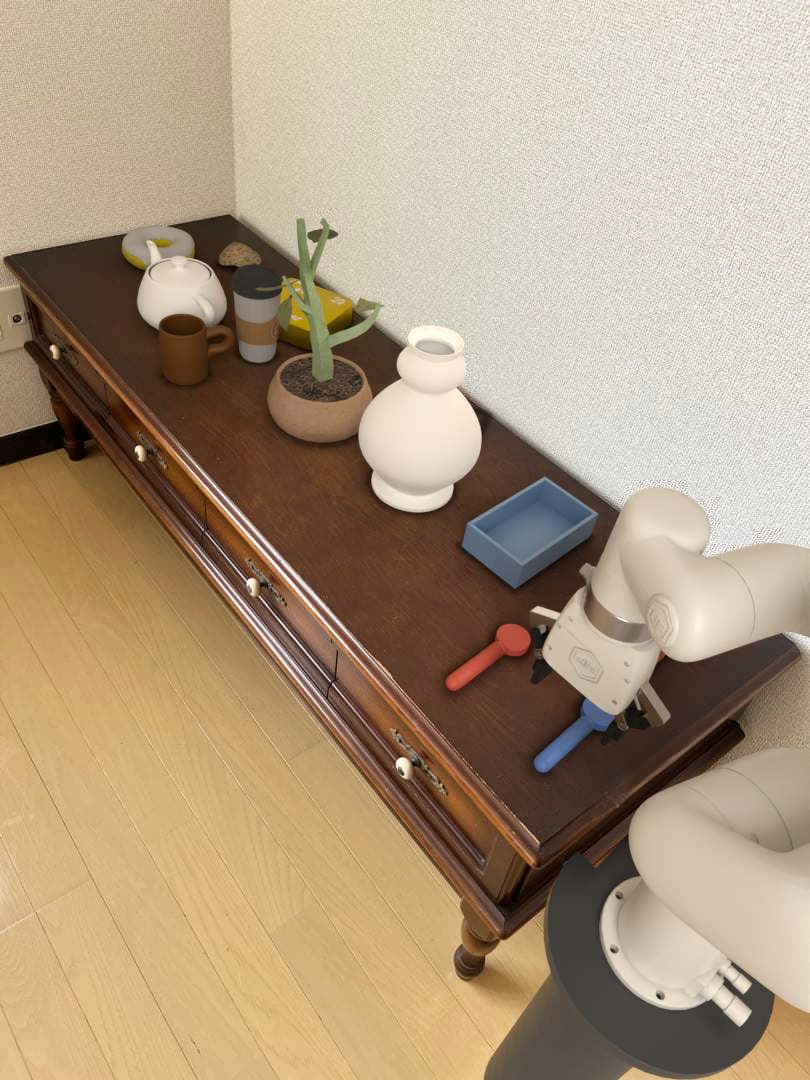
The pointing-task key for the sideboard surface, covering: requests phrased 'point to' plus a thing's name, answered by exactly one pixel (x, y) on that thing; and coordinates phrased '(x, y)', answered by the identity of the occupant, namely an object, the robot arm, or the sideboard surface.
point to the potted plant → (318, 361)
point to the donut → (165, 240)
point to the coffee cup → (256, 311)
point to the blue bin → (529, 531)
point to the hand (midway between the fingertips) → (574, 706)
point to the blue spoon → (573, 735)
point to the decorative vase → (422, 425)
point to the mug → (189, 347)
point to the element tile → (333, 310)
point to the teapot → (180, 290)
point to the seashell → (239, 255)
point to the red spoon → (491, 654)
